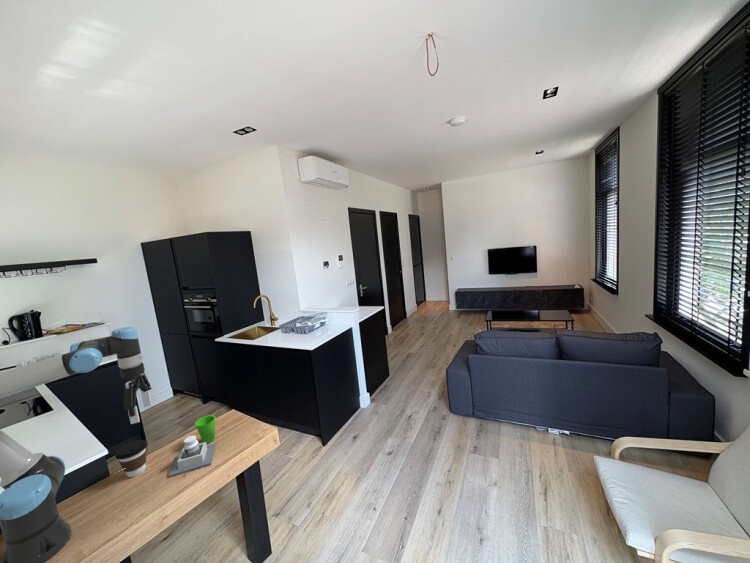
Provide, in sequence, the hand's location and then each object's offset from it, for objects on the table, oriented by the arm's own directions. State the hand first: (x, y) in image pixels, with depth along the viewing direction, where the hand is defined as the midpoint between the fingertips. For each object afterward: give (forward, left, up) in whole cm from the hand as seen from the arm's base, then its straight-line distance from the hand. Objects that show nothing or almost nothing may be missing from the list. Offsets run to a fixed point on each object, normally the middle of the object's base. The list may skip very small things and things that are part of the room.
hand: (141, 413), depth 124 cm
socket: (+14, +3, -29) cm, 32 cm away
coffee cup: (-9, +7, -29) cm, 31 cm away
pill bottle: (+14, +3, -28) cm, 31 cm away
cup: (+18, +16, -29) cm, 38 cm away
